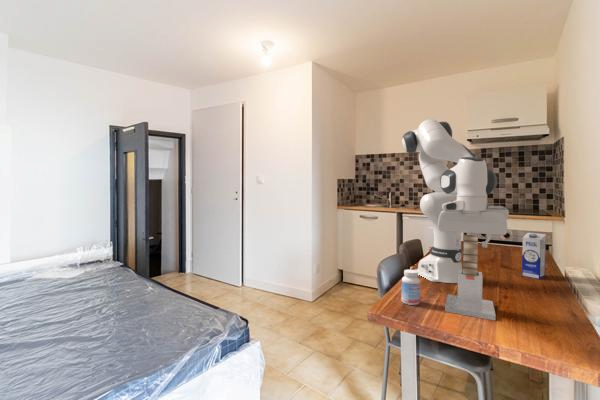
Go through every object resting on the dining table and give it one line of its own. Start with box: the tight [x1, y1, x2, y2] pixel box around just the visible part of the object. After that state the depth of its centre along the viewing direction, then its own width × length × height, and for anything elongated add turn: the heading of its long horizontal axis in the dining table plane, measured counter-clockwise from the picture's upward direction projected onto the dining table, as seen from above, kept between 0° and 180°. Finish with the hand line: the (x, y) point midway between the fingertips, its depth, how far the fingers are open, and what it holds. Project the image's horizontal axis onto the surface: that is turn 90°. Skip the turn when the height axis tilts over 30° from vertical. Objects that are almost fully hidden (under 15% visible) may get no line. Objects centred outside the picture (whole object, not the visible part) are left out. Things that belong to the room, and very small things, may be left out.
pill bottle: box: [400, 269, 421, 306], centre depth 107 cm, size 6×6×11 cm
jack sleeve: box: [444, 269, 496, 321], centre depth 101 cm, size 14×14×12 cm
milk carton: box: [521, 232, 547, 280], centre depth 139 cm, size 7×7×20 cm
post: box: [462, 234, 479, 276], centre depth 101 cm, size 4×4×17 cm
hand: (470, 246), depth 101 cm, fingers open, 7 cm apart
